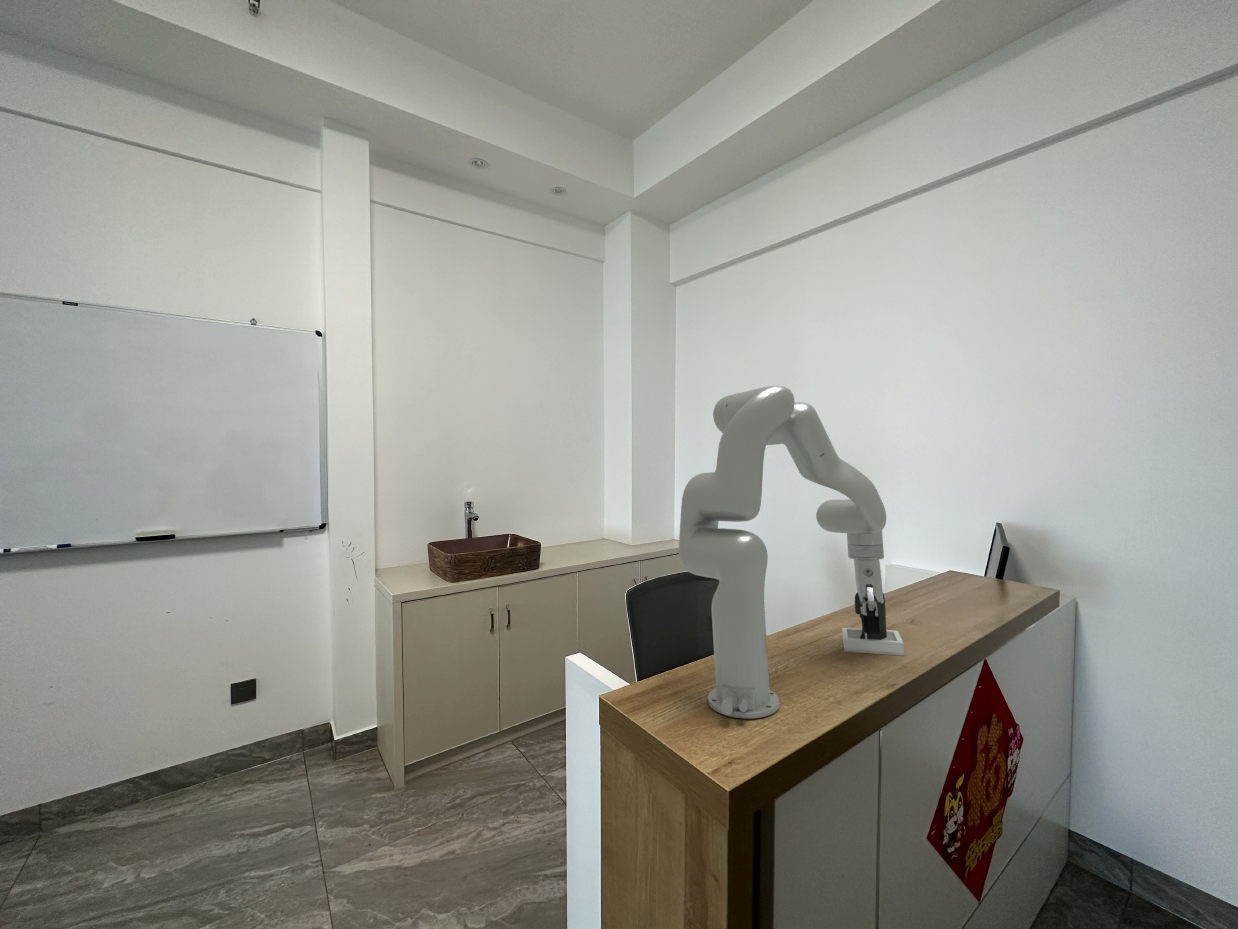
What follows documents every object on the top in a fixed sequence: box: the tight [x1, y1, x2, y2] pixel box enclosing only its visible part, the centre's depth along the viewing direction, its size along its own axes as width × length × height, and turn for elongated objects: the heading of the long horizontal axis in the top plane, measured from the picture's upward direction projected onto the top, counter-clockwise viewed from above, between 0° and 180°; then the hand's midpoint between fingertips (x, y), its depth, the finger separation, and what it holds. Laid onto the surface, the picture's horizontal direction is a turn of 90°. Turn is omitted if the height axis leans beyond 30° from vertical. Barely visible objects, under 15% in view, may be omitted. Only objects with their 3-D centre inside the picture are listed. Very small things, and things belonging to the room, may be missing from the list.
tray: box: [841, 627, 905, 657], centre depth 118 cm, size 9×12×3 cm
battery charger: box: [854, 591, 887, 640], centre depth 118 cm, size 7×4×11 cm, turn 120°
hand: (870, 627), depth 118 cm, fingers closed on battery charger, 7 cm apart
